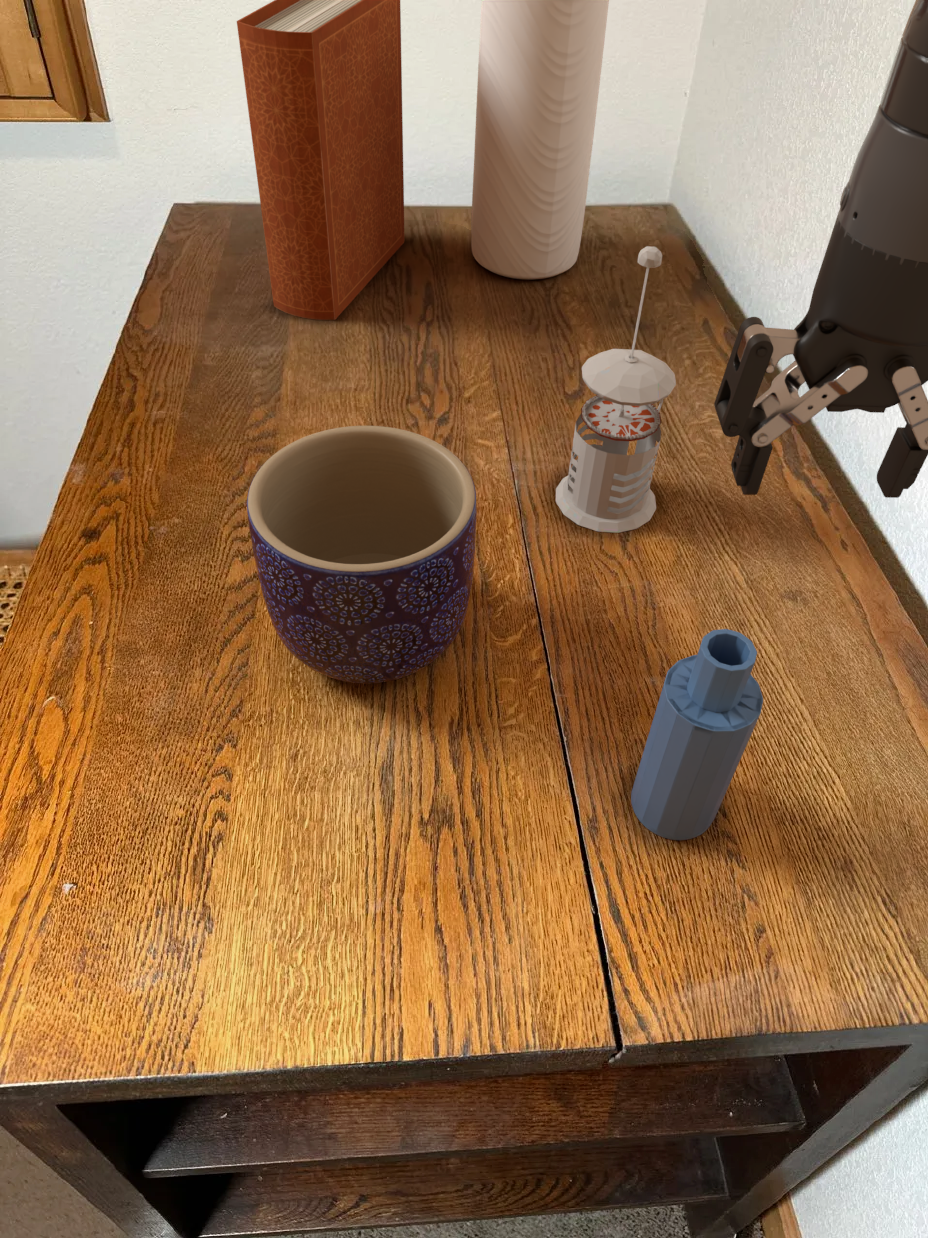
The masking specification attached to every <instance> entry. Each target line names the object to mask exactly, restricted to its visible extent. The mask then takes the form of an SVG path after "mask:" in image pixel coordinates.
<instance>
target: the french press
mask: <svg viewBox="0 0 928 1238" xmlns="http://www.w3.org/2000/svg"><path fill="white" fill-rule="evenodd" d="M662 261H663V254H662V251H661V250H660V249H659V248H658V247H657V246H649V245H646V246H644V247H643V248H642V249H640V251H639V252H638V256H637V264H639V265H640V266H642V267H644V268H646V269H645V274H644V281H643V286H642V290H641V295H640V296H641V297H640V302H639V307H638V312H637V319H636V324H635V330H634V334H633V340H632V345H631V349H625V348H612V349H607V350H604V351H602V352H598V353H597V354H595V355H593V356H591V357H589V358H587V359H586V360H585V362H584V364H583V365H582V366H581V377H582V380H583V382H584V384H585V385H586V386H587V388H588V389H589V390H590V392H591V393H593V395H594V396H592V397H590V398H589V399H587V400H585V402H584V403H583V405H581V408H580V414H579V416H578V417H577V419H576V421H575V425H574V433H573V439H572V447H571V452H570V460H569V466H568V474H567V475H566V476H564V477H562V479H561V481H560V482H559V484H558V485H557V486H556V488H555V503H556V505H557V506H558V508H559V510H560V511H561V513H562V515H563V516H565V517H566V518H568V519H569V520H570V521H572V522H573V523H575V525H578V526H581V527H584V528H586V529H589V530H593V531H595V532H601V533H615V534H617V533H624V532H628V531H632V530H637V529H639V528H640V527H642V526H644V525H645V524H647V523H648V522H650V521H651V519H652V517H653V515H654V514H655V511H656V510H657V503H656V495H655V494H654V492H653V491H652V490H651V483H652V480H653V473H654V471H655V466H656V461H657V457H658V452H659V449H660V445H661V440H662V439H661V438H662V430H661V424H662V416H661V412H660V411H661V408H662V406H663V403H664V399H666V398H668V397H669V396H670V395H671V393H673V390H674V388H676V386H677V382H676V374H675V372H674V371H673V370H672V369H671V368H670V366H669V365H668V364H667V363H666V362H665V361H663V360H661V359H659V358H658V357H656V356H654V355H652V354H650V353H648V352H646V351H643V350H641V349H635V348H636V344H637V343H636V342H637V337H638V331H639V326H640V322H641V321H640V320H641V315H642V311H643V304H644V300H645V299H644V298H645V294H646V289H647V282H648V277H649V272H650V268H651V269H652V268H653V269H655V268H658V267H660V266H661V265H662ZM657 403H659V405H658V407H656V406H655V404H657ZM582 423H584V425H583V426H582V427H580V428H579V426H580V425H581V424H582ZM586 430H590V431H592V432H593V433H586V434H584V435H583V436H581V434H583V433H584V432H585V431H586ZM590 440H597V441H601V442H602V445H601V444H596V443H592V444H589V443H587V442H586V441H590ZM635 441H636V444H635V450H634V454H628V450H629V445H630V442H635ZM576 457H577V459H576Z"/></svg>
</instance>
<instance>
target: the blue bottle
mask: <svg viewBox="0 0 928 1238" xmlns="http://www.w3.org/2000/svg"><path fill="white" fill-rule="evenodd" d="M757 656H758V651H757V649H756V647H755V644H754V643H753V641H752V640H751V639H749V638H748V637H747V636H745V635H744V633H742V632H739V631H736V630H732V629H729V628H720V629H713V630H711V631H710V632H708V633H706V634H705V635H704V636H703V637H702V639H701V642H700V645H699V649H698V651H697V654H693V655H690V656H687V657H685V658H682V659H679V660H677V661H676V662H675V663H674V664H673V665H672V666H671V667H670V668H669V669H668V670H667V671H666V676H665V678H664V682H663V685H662V688H661V692H660V695H659V699H658V702H657V706H656V708H655V713H654V715H653V718H652V721H651V726H650V728H649V732H648V735H647V739H646V742H645V745H644V748H643V752H642V756H641V759H640V762H639V765H638V769H637V772H636V776H635V779H634V782H633V786H632V789H631V793H630V803H631V807H632V811H633V812H634V814H635V816H636V819H638V820H639V822H640V824H642V826H644V827H645V828H646V829H647V830H648V831H650V832H652V833H653V834H654V835H656V836H659V837H660V838H664V839H668V840H672V841H687V840H691V839H694V838H695V839H696V838H697V837H700V836H701V835H702V834H704V833H705V832H706V831H707V830H709V828H710V827H711V825H712V823H713V822H714V821H715V819H716V816H717V814H718V812H719V810H720V808H721V806H722V803H723V801H724V798H725V796H726V794H727V791H728V789H729V787H730V784H731V782H732V780H733V778H734V775H735V773H736V770H737V768H738V766H739V763H740V761H741V759H742V757H743V755H744V753H745V750H746V747H747V746H748V743H749V741H750V739H751V736H752V734H753V732H754V729H755V727H756V725H757V722H758V721H759V719H760V717H761V713H762V709H763V703H764V697H763V693H762V690H761V686H760V683H759V682H758V681H757V680H756V678H754V676H753V675H752V671H753V668H754V666H755V664H756V660H757Z"/></svg>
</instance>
